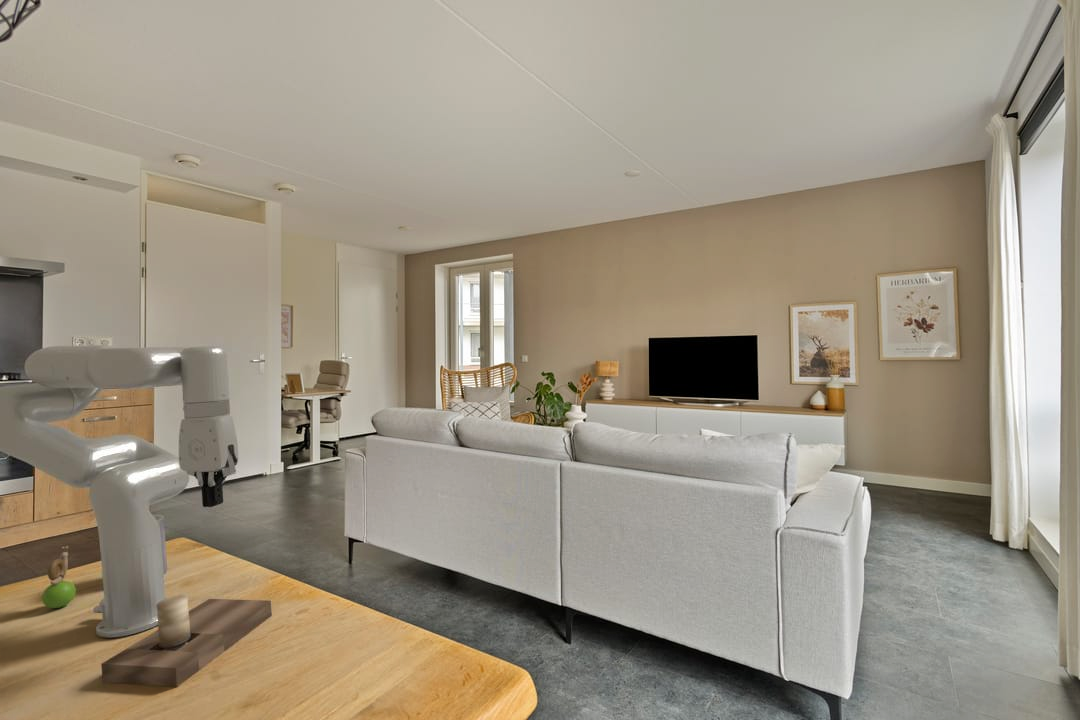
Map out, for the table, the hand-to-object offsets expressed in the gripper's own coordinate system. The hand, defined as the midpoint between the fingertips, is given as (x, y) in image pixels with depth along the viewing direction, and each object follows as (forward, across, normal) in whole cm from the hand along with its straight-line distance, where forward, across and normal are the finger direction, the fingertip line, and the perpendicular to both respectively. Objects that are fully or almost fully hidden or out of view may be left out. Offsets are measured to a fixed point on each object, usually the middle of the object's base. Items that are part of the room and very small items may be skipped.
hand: (213, 504), depth 102 cm
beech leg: (+23, +2, -11) cm, 26 cm away
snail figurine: (+24, -44, +1) cm, 50 cm away
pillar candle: (+24, -40, +16) cm, 49 cm away
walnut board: (+23, +2, -7) cm, 24 cm away
